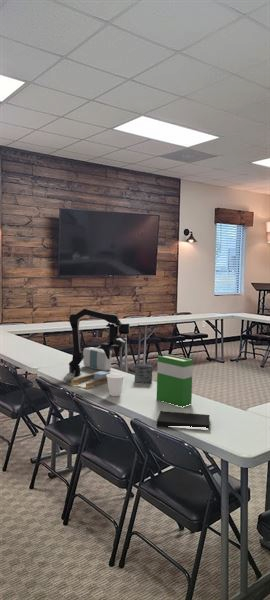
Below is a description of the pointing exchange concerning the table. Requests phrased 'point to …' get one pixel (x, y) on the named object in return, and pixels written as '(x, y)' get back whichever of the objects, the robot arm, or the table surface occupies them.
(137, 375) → the small box
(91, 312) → the robot arm
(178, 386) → the green cereal box
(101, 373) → the crate
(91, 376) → the rack bay
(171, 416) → the black book
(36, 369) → the table surface
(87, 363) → the stereo radio cassette player
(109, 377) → the cup
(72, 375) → the winch drum
